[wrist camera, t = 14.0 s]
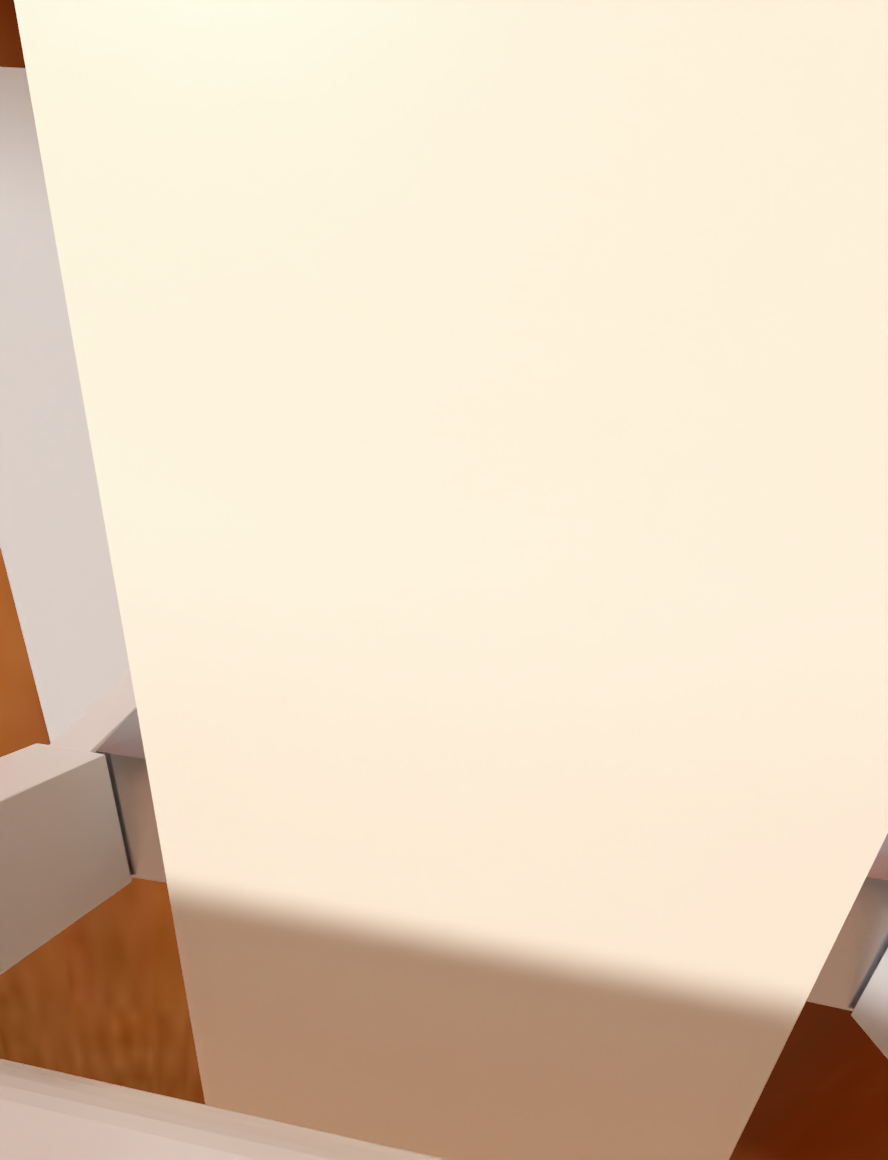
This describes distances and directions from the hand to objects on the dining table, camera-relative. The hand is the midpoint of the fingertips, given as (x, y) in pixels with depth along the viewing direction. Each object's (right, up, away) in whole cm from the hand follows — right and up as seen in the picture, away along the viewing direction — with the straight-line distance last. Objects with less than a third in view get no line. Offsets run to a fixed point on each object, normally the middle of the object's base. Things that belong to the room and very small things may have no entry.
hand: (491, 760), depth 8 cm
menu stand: (-1, -8, +3) cm, 9 cm away
